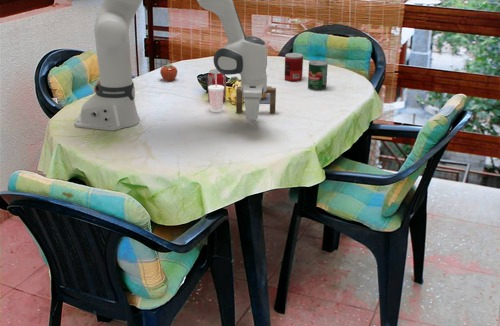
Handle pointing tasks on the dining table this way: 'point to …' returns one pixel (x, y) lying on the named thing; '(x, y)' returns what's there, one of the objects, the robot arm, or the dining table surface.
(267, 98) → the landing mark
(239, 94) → the bridge
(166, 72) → the tomato
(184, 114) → the dining table surface
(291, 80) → the canned food
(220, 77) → the soda can
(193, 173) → the dining table surface
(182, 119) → the dining table surface
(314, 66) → the canned tomato
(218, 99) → the beverage cup
